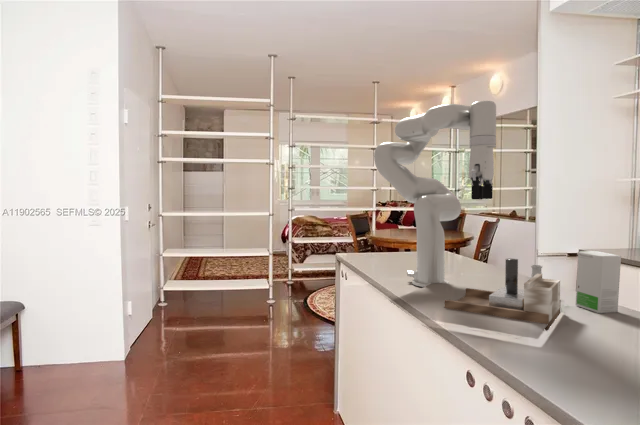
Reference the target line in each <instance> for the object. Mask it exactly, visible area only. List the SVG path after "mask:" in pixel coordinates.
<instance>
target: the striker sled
mask: <svg viewBox="0 0 640 425" xmlns="http://www.w3.org/2000/svg"><path fill="white" fill-rule="evenodd" d="M504 269H505V273H504V274H505V278H504V279H505V280H504V281H505V282H504V283H505V284H504V286H502V287H499V288H498V289H496V290H495V291H494V293H492V294H491V295H489V306H495V307H502V308H509V309H516V310H523V311H524V289H521V288H519V285H518V284H519V282H518V280H519V259H518V258H511V257H510V258H505V268H504Z"/></svg>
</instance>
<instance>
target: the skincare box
mask: <svg viewBox="0 0 640 425" xmlns="http://www.w3.org/2000/svg"><path fill="white" fill-rule="evenodd" d="M577 253H578V255H577V270H576V271H577V272H576V274H577V275H576V290H575V291H576V294H575V306H577V307H580V308H582V309H585V310H588V311H591V312H594V313H597V314H609V313H618V312H619V310H618V309H619V296H620V295H619V294H620V281H621V280H620V278H621V265H622V264H621V262H622V256H621V255H618V254H614V253H608V252H603V251H598V250H587V251H581V250H580V251H578V252H577Z"/></svg>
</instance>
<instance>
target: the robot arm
mask: <svg viewBox="0 0 640 425" xmlns="http://www.w3.org/2000/svg"><path fill="white" fill-rule="evenodd" d="M442 129H443V130H445V129H455V130H463V131H469V149H470V151H469V152H470V153H469V159H468V160H469V162H468V164H469V165H468V179H469V180H471V182H470V183H471V184H470V185H471V191H470V192H471V199H472V200H487V199H488V200H492V199H493V192H494V190H493V185H494V184H493V179H494V173H495V172H494V169H495V166H494V165H495V164H494V149H495V148H496V147H497V104H496V103H495V102H494V101H491V100H478V101H475V102H473V103H471V105H466V104H465V105H463V104H458V103H457V104H456V103H445V104H440V105H437V106H433V107H430V108H429V109H427V110H426V112H424V113H422V114H416V115H414V116H413V115H412V116H410V117H405V118H403V119H401V120H399V121H398V122H396V124H395V127H394V133H395V136H396V137H397V138H398V139H399V140H402V141H403V142H398V141H397V142H394V141H393V142H392V141H386V142H382V143H380V144H378V145H377V146H376V148H375V150H374V153H373V154H374V155H373V160H374V165H375V167H376V169H377V171H378V173H379V174H380V175H381V177H383V178H384V179H385V180H386V181H387V182H388V183H389V184H390V185H391V186H392V187H393V188H394V189H395V190H396V191H397V193H398V194H399V195H401V197H402V198H403V199H405V201H407V202H408V203H410V204H411V203H412V204H413V214H414V220H415V227H416V270H407V271H406V276H407V277H410V278H412V277H413V279H412V281H411V282H412V285H413V286H417V287H420V288H425V287H428V286H430V285H432V284H445V285H446V284H447V285H450V281H449V280H447V279H445V277H446V276H445V268H446V267H445V265H446V264H445V254H446V253H445V252H446V251H445V249H446V248H445V247H446V245H445V244H446V242H445V241H446V239H445V237H446V236H445V230H444V228H443V226H442V223H441V222H449V221H453V220H456V219H457V218H459V216H460V215H461V211H462V205H461V202H460V200H459V199H458V197H457V196H456V195H455V194H454V193H453V192H452V191H451V190H450V189H448V187H446V185H445V184H443V183H442V182H441V181H440V180H438V179H436V178H434V177H422V176H421V177H420V176H417V175H415V174H414V173H413V172H411V170H409V168H407V167H406V166H404V165H411V164H413V163H415V162H416V160H418V158H419V157H420V155H421V154H422V152H423V151H424V150H425V148H426V146H427V145H428V144H429V142H430V140H431V139H432V138H433V137H435V136H436V135H437V134H438V132H439V130H442Z"/></svg>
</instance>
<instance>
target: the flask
mask: <svg viewBox="0 0 640 425" xmlns="http://www.w3.org/2000/svg"><path fill="white" fill-rule="evenodd" d="M530 267H531V276H530V279H531V278H532V277H533V276H535V275H536V274H542V275H543V273H542V269H543V265H540V264H531V265H530Z"/></svg>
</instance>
